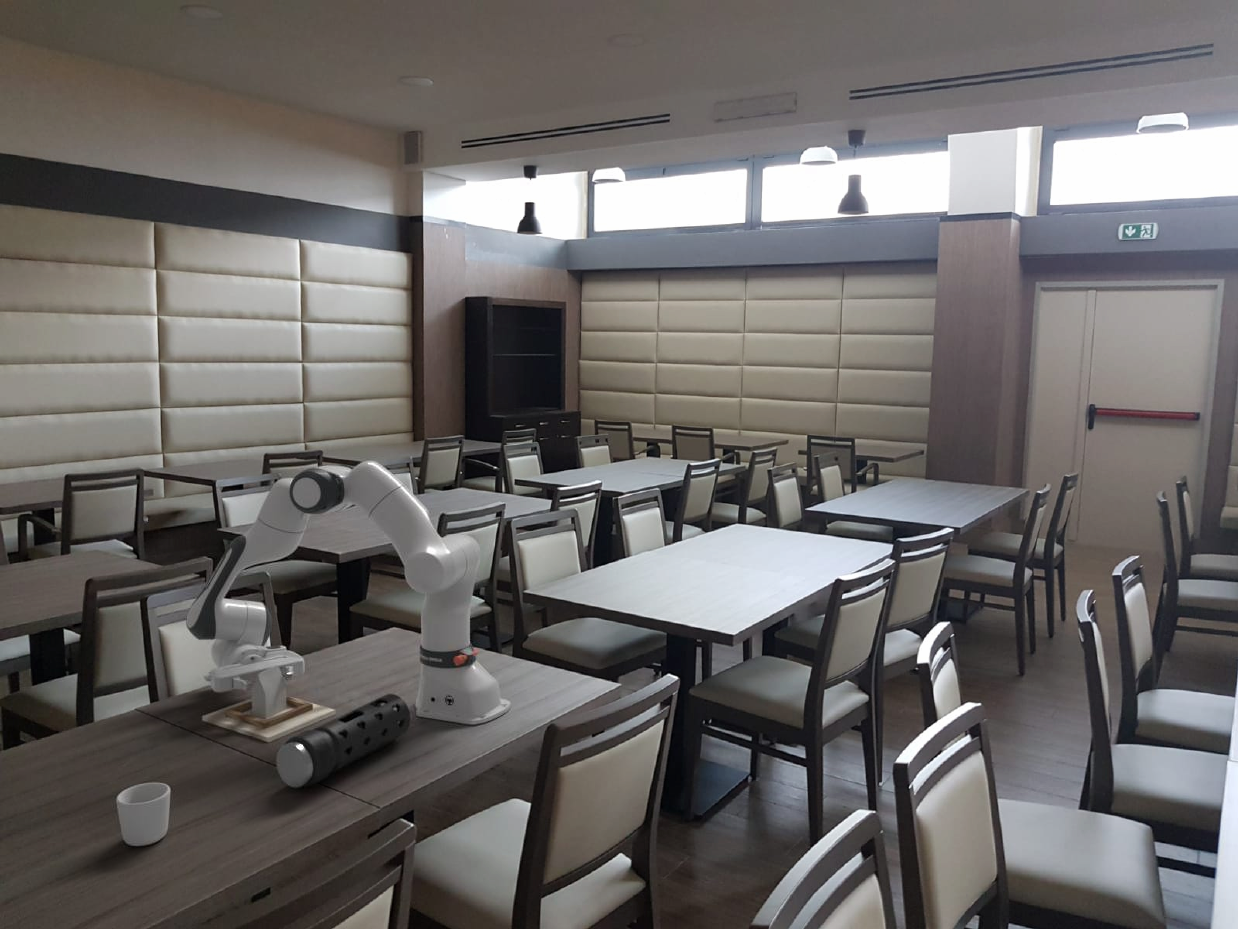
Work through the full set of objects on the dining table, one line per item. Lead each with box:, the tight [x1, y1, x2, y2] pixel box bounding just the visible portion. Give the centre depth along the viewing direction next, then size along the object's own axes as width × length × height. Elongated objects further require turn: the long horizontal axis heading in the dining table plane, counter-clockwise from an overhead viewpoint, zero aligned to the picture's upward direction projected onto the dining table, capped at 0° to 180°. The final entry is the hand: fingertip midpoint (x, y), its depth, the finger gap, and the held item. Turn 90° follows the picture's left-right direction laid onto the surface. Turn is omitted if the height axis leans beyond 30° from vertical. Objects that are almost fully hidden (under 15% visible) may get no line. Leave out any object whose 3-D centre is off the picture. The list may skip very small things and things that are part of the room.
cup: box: [115, 782, 171, 847], centre depth 152 cm, size 11×8×8 cm
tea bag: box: [251, 665, 287, 719], centre depth 202 cm, size 4×7×10 cm, turn 162°
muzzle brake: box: [275, 693, 411, 789], centre depth 179 cm, size 10×28×10 cm, turn 153°
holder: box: [202, 695, 337, 743], centre depth 203 cm, size 22×18×2 cm
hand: (269, 681), depth 201 cm, fingers open, 8 cm apart
